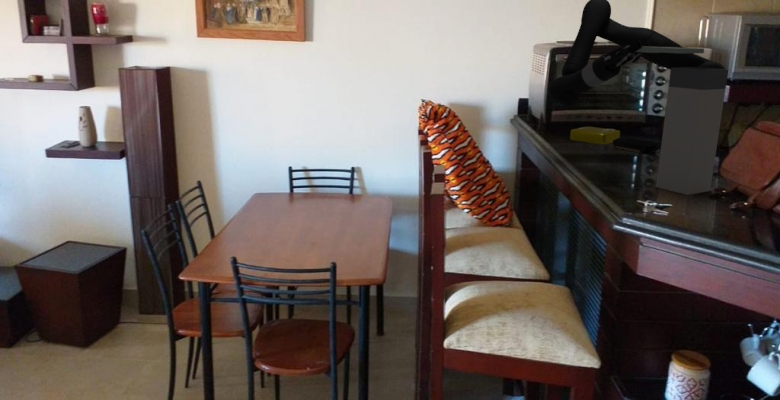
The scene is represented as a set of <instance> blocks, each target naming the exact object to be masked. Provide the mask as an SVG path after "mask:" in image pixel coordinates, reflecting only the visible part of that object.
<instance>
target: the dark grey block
mask: <svg viewBox="0 0 780 400" xmlns="http://www.w3.org/2000/svg"><path fill="white" fill-rule="evenodd" d="M728 74H729V69H726V68H725V69H712V68H698V67H682V68H671V69H670V75H669V76H670V77H669V83H668V90H667V97H666V98H667V99H666V106H665V114H664V122H663V130H662V138H661V145H660V152H659V162H658V167H657V169H658V170H657V177H656V183H655V188H658V189H662V190H667V191H671V192H674V193H678V194H683V195H686V196H689V195H695V194H700V193H706V192H707V193H708V192H710V191H711V188H712V182H713V181H712V180H713V174H714V167H715V161H716V156H717V146H718V142H719V141H718V140H719V134H720V128H721V120H722V114H723V108H724V101H725V96H726V95H725V94H726V89H727V88H726V87H727V81H728V76H729V75H728Z"/></svg>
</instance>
